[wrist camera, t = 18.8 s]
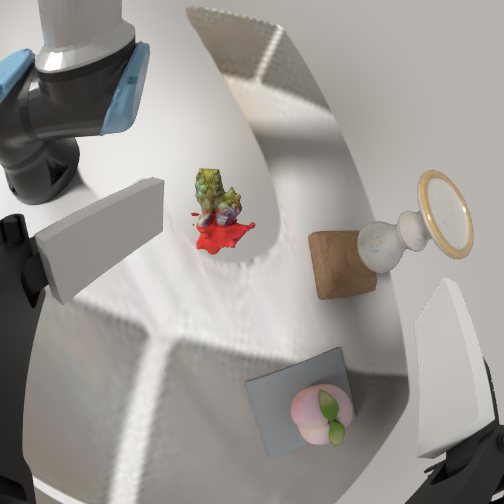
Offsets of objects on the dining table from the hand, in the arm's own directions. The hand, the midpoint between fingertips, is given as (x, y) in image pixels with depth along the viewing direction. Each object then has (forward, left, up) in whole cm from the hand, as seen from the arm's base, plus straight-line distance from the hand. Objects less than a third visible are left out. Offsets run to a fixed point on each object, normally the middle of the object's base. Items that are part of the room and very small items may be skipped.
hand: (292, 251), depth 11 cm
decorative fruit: (+9, -19, -28) cm, 35 cm away
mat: (+10, -19, -29) cm, 35 cm away
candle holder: (+23, +1, -29) cm, 37 cm away
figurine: (+3, +11, -29) cm, 31 cm away
